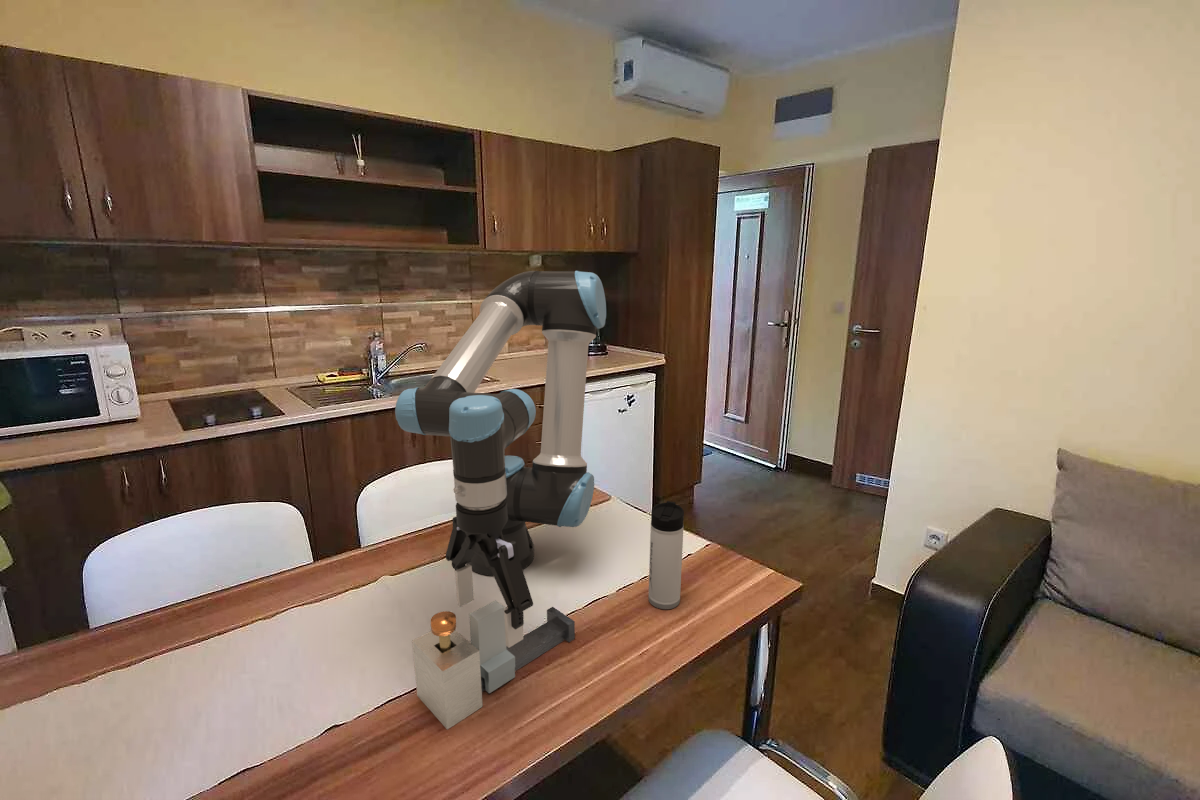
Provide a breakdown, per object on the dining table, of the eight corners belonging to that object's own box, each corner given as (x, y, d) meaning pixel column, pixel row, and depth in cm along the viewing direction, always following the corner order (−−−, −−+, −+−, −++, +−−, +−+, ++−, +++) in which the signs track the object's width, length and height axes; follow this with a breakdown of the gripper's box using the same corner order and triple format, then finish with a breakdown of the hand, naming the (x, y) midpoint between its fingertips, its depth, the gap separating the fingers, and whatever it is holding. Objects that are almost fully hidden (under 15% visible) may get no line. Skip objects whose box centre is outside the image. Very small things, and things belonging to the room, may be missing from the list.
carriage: (465, 671, 91) (461, 607, 88) (491, 656, 94) (487, 594, 91) (489, 694, 86) (486, 627, 83) (515, 677, 90) (513, 613, 87)
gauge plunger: (430, 668, 84) (425, 618, 81) (451, 656, 86) (447, 608, 84) (442, 680, 81) (438, 630, 79) (463, 668, 84) (460, 618, 81)
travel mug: (682, 593, 113) (687, 503, 108) (676, 612, 107) (680, 518, 102) (653, 587, 115) (656, 498, 110) (644, 606, 109) (647, 512, 104)
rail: (417, 695, 86) (412, 640, 84) (547, 619, 104) (546, 572, 102) (447, 729, 80) (442, 671, 78) (580, 642, 98) (580, 593, 96)
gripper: (417, 482, 88) (428, 597, 94) (510, 539, 71) (517, 675, 77) (458, 469, 93) (466, 579, 99) (555, 519, 77) (558, 648, 82)
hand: (489, 621), depth 88 cm, fingers open, 13 cm apart
